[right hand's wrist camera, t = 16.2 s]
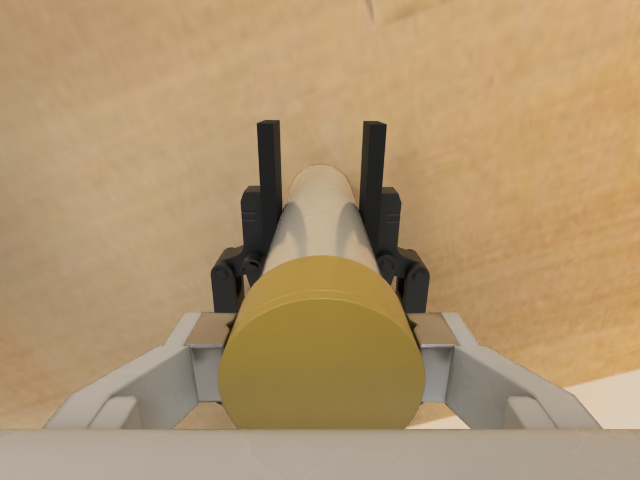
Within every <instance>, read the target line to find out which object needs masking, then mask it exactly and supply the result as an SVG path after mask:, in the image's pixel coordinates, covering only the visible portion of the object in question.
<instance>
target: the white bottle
mask: <svg viewBox="0 0 640 480" xmlns="http://www.w3.org/2000/svg"><path fill="white" fill-rule="evenodd" d="M313 255H328V256H338V257H342V258H346V259H350V260H353V261H356V262H358V263H361V264H363V265H365V266H367V267H369V268H370V269H372V270H373V271H375V272H376V273H378V274H379V275H380V276H381V277H382V275H381V272H380V269H379V266H378V264H377V261H376V258H375V255H374V252H373V249H372V247H371V244H370V241H369V238H368V235H367V232H366V230H365V227H364V224H363V221H362V218H361V215H360V212H359V210H358V207H357V204H356V201H355V198H354V195H353V193H352V190H351V187H350V184H349V182H348V180H347V178H346V177H345V176H344V174H343V173H342V172H340V171H339V170H338V169H336V168H334V167H332V166H329V165H323V164H319V165H312V166H309V167H307V168H305V169H303V170H302V171H301V172H299V173H298V174H297V175H296V177H295V178H294V180H293V182H292V184H291V187H290V190H289V193H288V196H287V199H286V202H285V205H284V207H283V210H282V213H281V216H280V219H279V222H278V225H277V228H276V231H275V234H274V237H273V240H272V243H271V246H270V249H269V252H268V255H267V258H266V261H265V264H264V267H263V270H262V273H261V276H263V275H264V274H265V273H267V272H268V271H269V270H271V269H273V268H274V267H276V266H278V265H280V264H282V263H285V262H287V261H290V260H293V259H297V258H300V257H306V256H313ZM261 276H260V277H261Z"/></svg>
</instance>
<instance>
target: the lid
mask: <svg viewBox="0 0 640 480" xmlns="http://www.w3.org/2000/svg"><path fill="white" fill-rule="evenodd" d="M425 381H426V378H425V367H424V363H423V359H422V356H421V354H420V351H419V349H418V346H417V343H416V341H415V338H414V336H413V333H412V331H411V328H410V326H409V323H408V321H407V318H406V316H405V313H404V311H403V308H402V306H401V303H400V301H399V298H398V297H397V295H396V293H395V292H394V290H393V289H392V287H391V286H390V285H389V284H388V283H387V281H386V280H384V279H383V278H382V277H381V276H380V275H379V274H378V273H376V272H375V271H373V270H372V269H370V268H369V267H367V266H365V265H363V264H361V263H358V262H356V261H353V260H350V259H346V258H342V257H338V256H328V255H313V256H306V257H300V258H297V259H293V260H290V261H287V262H285V263H282V264H280V265H278V266H276V267H274V268H273V269H271V270H269V271H268V272H267V273H265V274H264V275H263V276H261V277H260V278H259V279H258V280H257V281H256V282H255V283H254V284H253V286H252V287H251V288H250V290H249V291H248V293H247V294H246V296H245V298H244V300H243V302H242V305H241V307H240V310H239V313H238V315H237V318H236V320H235V323H234V326H233V328H232V331H231V333H230V336H229V339H228V341H227V344H226V347H225V349H224V352H223V355H222V357H221V360H220V364H219V369H218V388H219V394H220V398H221V401H222V404H223V406H224V408H225V410H226V412H227V414H228V416H229V417H230V419H231V420H232V421H233V423H234V424H235V425H236V426H237V427H238V428H239V429H405V428H406V426H407V425H408V424H409V423H410V422H411V420H412V419H413V417H414V416H415V414H416V413H417V411H418V409H419V406H420V404H421V402H422V398H423V395H424V391H425Z"/></svg>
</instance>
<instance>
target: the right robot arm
mask: <svg viewBox="0 0 640 480" xmlns="http://www.w3.org/2000/svg"><path fill="white" fill-rule="evenodd" d="M237 315H238V313H218V312H204V313H203V312H187V313H184V314H183V316H182V317H181V319H180V320H179V322H178V324H177V325H176V327H175V328H174V330H173V331H172V333H171V334H170V336H169V338H168V339H167V341H166V342H165V344H164V345H163V346H157V347H155V348H153V349H151V350H150V351H148V352H146V353H144V354H143V355H141V356H139V357H137V358H135V359H134V360H132V361H130V362H128V363H126V364H125V365H123V366H121V367H119V368H117V369H116V370H114V371H112V372H110V373H109V374H107V375H105V376H103V377H101V378H100V379H98V380H96V381H94V382H92V383H91V384H89V385H87V386H85V387H83V388H82V389H80V390H78V391H76V392H75V393H73V394H71V395H70V396H69V397H68V398H67V400H66V401H65V402H64V403H63V404H62V405H61V407H60V408H59V409H58V410H57V411H56V412H55V414H54V415H53V416H52V417H51V418H50V420H49V421H48V422H47V423H46V424H45V425H44V427H43V428H42V429H0V480H640V429H603V428H602V427H601V426H600V425H599V423H598V422H597V421H596V420H595V419H594V418H593V416H592V415H591V414H590V413H589V412H588V411H587V409H586V408H585V407H584V406H583V405H582V404H581V402H580V401H579V400H578V399H577V398H576V397H575V395H573V394H571V393H569V392H568V391H566V390H564V389H562V388H560V387H559V386H557V385H555V384H553V383H551V382H550V381H548V380H546V379H544V378H542V377H541V376H539V375H537V374H535V373H533V372H532V371H530V370H528V369H526V368H524V367H523V366H521V365H519V364H517V363H515V362H514V361H512V360H510V359H508V358H506V357H505V356H503V355H501V354H499V353H497V352H496V351H494V350H492V349H490V348H488V347H487V346H480V345H479V343H478V342H477V340H476V339H475V337H474V336H473V334H472V333H471V331H470V330H469V328H468V327H467V325H466V324H465V322H464V321H463V319H462V318H461V316H460V315H459V313H457V312H439V313H405V316H406V318H407V321H408V323H409V326H410V328H411V331H412V333H413V336H414V338H415V341H416V343H417V346H418V349H419V351H420V354H421V356H422V359H423V363H424V367H425V378H426V381H425V391H424V395H423V398H422V402H445V404H446V405H447V406H448V407H449V408H450V409H451V410H452V411H453V412H454V413H455V414H456V415H457V416H458V417H459V418H460V419H461V420H462V421H464V422H465V423H466V424H467V425H468V426H469V427H470V428H471V429H173V428H174V427H175V426H176V425H177V424H178V423H179V422H180V421H181V420H182V419H183V418H184V417H185V416H186V415H187V414H188V413H189V412H191V411H192V410H193V409H194V408H195V407H196V406H197V405H198V402H222V401H221V398H220V394H219V388H218V369H219V364H220V360H221V357H222V355H223V352H224V349H225V347H226V344H227V341H228V339H229V336H230V333H231V331H232V328H233V326H234V323H235V320H236V318H237Z"/></svg>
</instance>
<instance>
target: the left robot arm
mask: <svg viewBox="0 0 640 480" xmlns="http://www.w3.org/2000/svg"><path fill="white" fill-rule="evenodd" d="M386 127H387V124H384V123H381V122H379V121H364V123H363V143H362V162H361V182H360V202H359V212H360V215H361V218H362V221H363V224H364V227H365V230H366V232H367V235H368V238H369V241H370V244H371V247H372V249H373V252H374V255H375V258H376V261H377V264H378V266H379V269H380V272H381V275H382V278H383V279H384V280H386V281H387V283H388V284H389V285H390V286H391V283H392V280H393V277H394V276H397V281H396V295H397V297H398V298H399V301H400V303H401V306H402V308H403V311H404V313H425V311H426V303H427V294H428V286H429V278H430V275H429V272H428V270H427V268H426V266H425V265H424V263H423V262H422V260H421V259H420V257H419V256H418V254H417V253H416V251H414V250H411V249H407V250H405V249H402V248H399V247H398V246H397V243H398V232H399V220H400V211H401V201H400V198H399V194H398V193H397V191H396V190H395V189H394V188H393V187H382V181H383V167H384V154H385V140H386ZM257 135H258V154H259V173H260V186H248V188H247V189H246V190H245V191H244V193H243V196H242V199H241V211H242V226H243V240H244V245H242V246H240V247H237V248H232V247H231V248H227V249H225V250H224V252H223V253H222V254H221V256H220V258H219V259H218V261H217V262H216V264H215V266H214V267H213V269H212V270H211V281H212V291H213V301H214V312H218V313H239V310H240V307H241V305H242V302H243V300H244V298H245V296H244V280H243V275H245V274H246V275H247V278H248V281H249V284H250V287H252V286H253V284H254V283H255V282H256V281H257V280H258V279H259V278H260V276H261V273H262V270H263V267H264V264H265V261H266V258H267V255H268V252H269V249H270V246H271V243H272V240H273V237H274V234H275V231H276V228H277V225H278V222H279V219H280V216H281V213H282V185H281V152H280V120H264V121H262V122H259V123H257ZM217 403H218V404H220V405H223V404H222V402H217ZM422 403H423V402H421V404H422ZM421 404H420V405H421Z"/></svg>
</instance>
